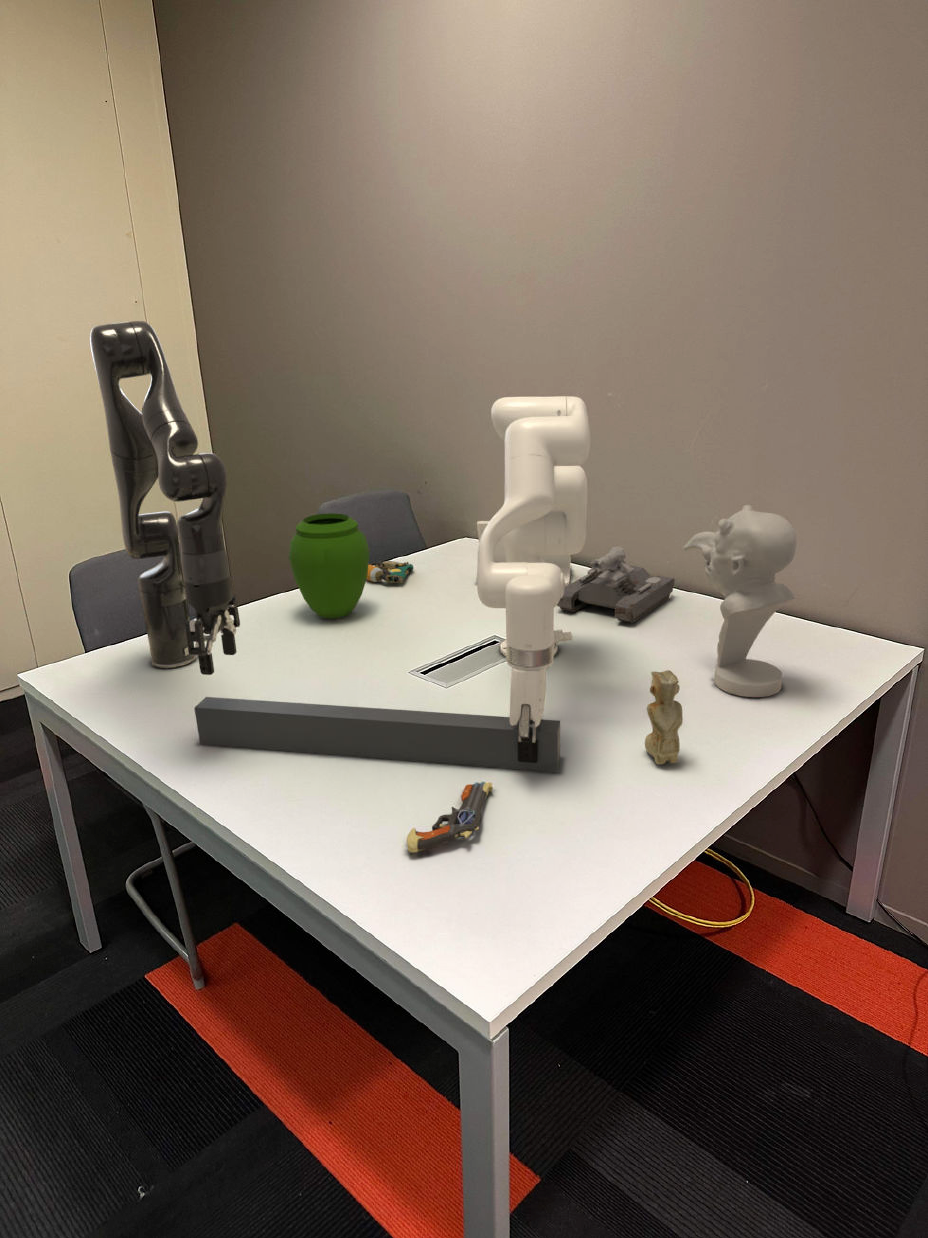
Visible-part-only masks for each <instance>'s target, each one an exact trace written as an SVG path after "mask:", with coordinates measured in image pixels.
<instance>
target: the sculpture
mask: <svg viewBox="0 0 928 1238" xmlns="http://www.w3.org/2000/svg"><path fill="white" fill-rule="evenodd" d="M650 673H651V684H650V687H649V693H650V694H651V695H652V696H653V697H654V701H653V702H650V703H648V704H647V706H646V713H647V715H648V718H649V721H650V724H651V727H652V730H651V731H652V732H650V733H649V734H647V735H646V736H645V739H644V748H645V751H646V752H647V753H648V754H649V755H651V756H652V757H653V758H654V762H655V764H657V765H664V764H666V762H668V763H669V764H676V763H678V759H679V755H678V754H679V752H680V748H681V745H680V737H679V729H680V728H681V727H682V725H683V723H684V722H683V720H684V719H683V717H684V716H683V706H682V703H680V702H679V701H678V700H675V697H676V695H678V693H679V692H680V684H679V682H680V680H679V678H678V677H677V675H675V673H674V672H672V671H671V670H670V669H669V670H664V671H651V672H650Z"/></svg>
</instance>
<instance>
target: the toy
mask: <svg viewBox="0 0 928 1238" xmlns="http://www.w3.org/2000/svg"><path fill="white" fill-rule="evenodd" d="M626 557H627V556H626V551H625V549H624V548H622V547H621V546H614V547H612V548H611V549H610V550H609V552H608V553H607V554H605V555H604V556H601V557H599V558H598V559H597V557H596V558H594V559H593V560H592V561H590V562H589V563H590V564H591V565H592V567H591V568H590V569H589V570H587V573H586V575H584V576H582V577H580V578H578V579H577V580H575V581H573V582H570V583H569V585H567V586H565V588H564V595H563V597H562V598H560V600H559V602H558V604H557V605H556V607H558V608H559V609H560V610H562V611H566V612H572V613H575V612H577V611H579V610H581V609H582V608H585V607H586V606H588V605H592V606H598V607H602V608H603V607H604V608H609V609H613V610H614V618H615V619H617V620H618V621H621V622H626V623H631V624H634V623H635V622H637V621H638V620H640V619H641V618H642V617H644V616H645V615H647V614H648V613H650V612H651V611H652V610H654V609H655V608H657V607H659V606H660V605H661V604H663V603H664V602H666V601H667V600H669V598H670V596H671V594H672V593H673V591H674V585H675V580H676V579H675V578H673V577H668V576H663V575H656V576H655V577H654V576H651V574H650V573H649V572H648V571H647V570H646V568H644V567H641V566H635V565H629V564H628V563H627V562H626V561H625V559H626Z"/></svg>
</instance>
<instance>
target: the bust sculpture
mask: <svg viewBox="0 0 928 1238" xmlns="http://www.w3.org/2000/svg"><path fill="white" fill-rule="evenodd" d="M697 549H698V550H701V551H702V556H703V558H704V559H705V561H706V562H705V563H704V571H705V573H706V576H707V578H708V580H709V581H710V584H711V585H712V587H713V588H714V589H716V590H717V591H718V592H719V593H720V594H721V595H722V596H724V599H723V600H722V602H721V603H720V605H719V606H720V607H719V609H720V613H721V617H722V619H723V622H722V624H721V627H720V631H719V634H718V642H717V648H716V652H717V653H716V654H717V657H716V659H717V660H716V666H715V667H714V678H713V679H714V680H713V682H714V684H715V686H717V687H718V688H719V689H720V690H722V691H723V692H726V693H728V694H732V695H735V696H740V697H745V698H746V697H747V698H765V697H770V696H774V695H776V694H777V693H779V692H780V691H781V689H782V684H783V676H784V675H783V672H782V671H781V669H779V668H778V667H777V666H775V665H773V664H771V663H768V662H766V661H762V660H758V659H752V658H748V655H749V652H750V650H751V648H752V647H753V645H754V642H755V641H756V640H757V637H758V636H759V634H760V633H761V631H762V630H763V628H764V627H765V626H766V624H767V623H768V621H769V620H770V619H771V617H772V616H773V615H774V614H775V613H776V612H777V611H779V609H780V608H781V607H783V606H784V605H785V604H787V603H788V602H790V601H791V600H794V599H796V596H795V594H794V593H793V591H792V590H791V589H790V588H789V586H788V585H785V584H783V583H779V582H776V574H778V573H780V572H782V571H784V570H785V569H786V568H787V567H788V566H789V565H790V564H791V563H792V561H793V560H794V557H795V554H796V551H797V550H796V549H797V534H796V531H795V529H794V527H793V525H792V524H791V523H790V522H789V521H788V520H787V519H786V518H785V517H783V516H781V515H779V514H777V513H771V512H763V511H761V512H760V511H755V510H754V508H753V507H752V506H751V504H745V505H743V507H742V509H741V510H739V511H737V512H735V513H734V514H733V515H731V516H730V517H729V518H727V519H726V518H721V519H720V520H719V521H718V528H717V530H716V532H713V531H701V532H698V533H696V534H695V535H693V536H692V537H691V538H690V539H689V541H688V542H687V543H686V544H684V546H683V547H682V550H683V552H687V551H692V550H697Z"/></svg>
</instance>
